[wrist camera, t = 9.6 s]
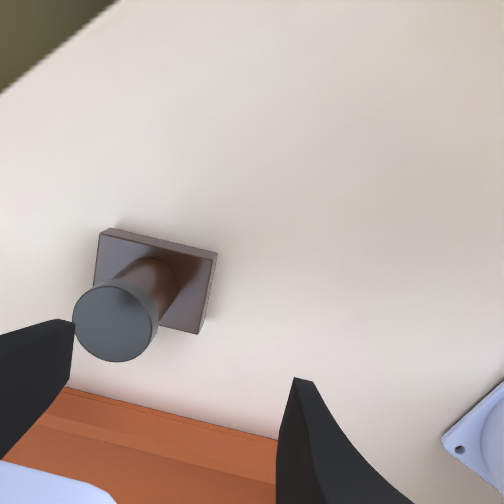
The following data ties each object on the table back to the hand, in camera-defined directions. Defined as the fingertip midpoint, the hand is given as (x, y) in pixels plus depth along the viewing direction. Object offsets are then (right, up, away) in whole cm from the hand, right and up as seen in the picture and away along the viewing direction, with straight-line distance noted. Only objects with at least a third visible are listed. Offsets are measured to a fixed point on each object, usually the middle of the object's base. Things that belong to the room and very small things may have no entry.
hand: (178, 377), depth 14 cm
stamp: (-2, +3, +9) cm, 10 cm away
